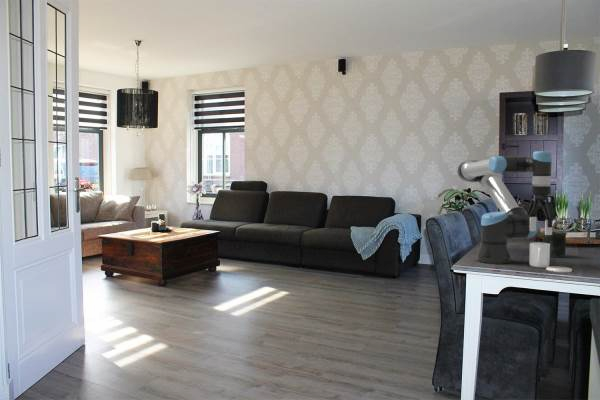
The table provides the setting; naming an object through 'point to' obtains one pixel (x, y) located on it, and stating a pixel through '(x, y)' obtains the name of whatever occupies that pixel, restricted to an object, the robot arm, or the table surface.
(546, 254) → the cup
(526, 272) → the table surface
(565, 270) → the saucer
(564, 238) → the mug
